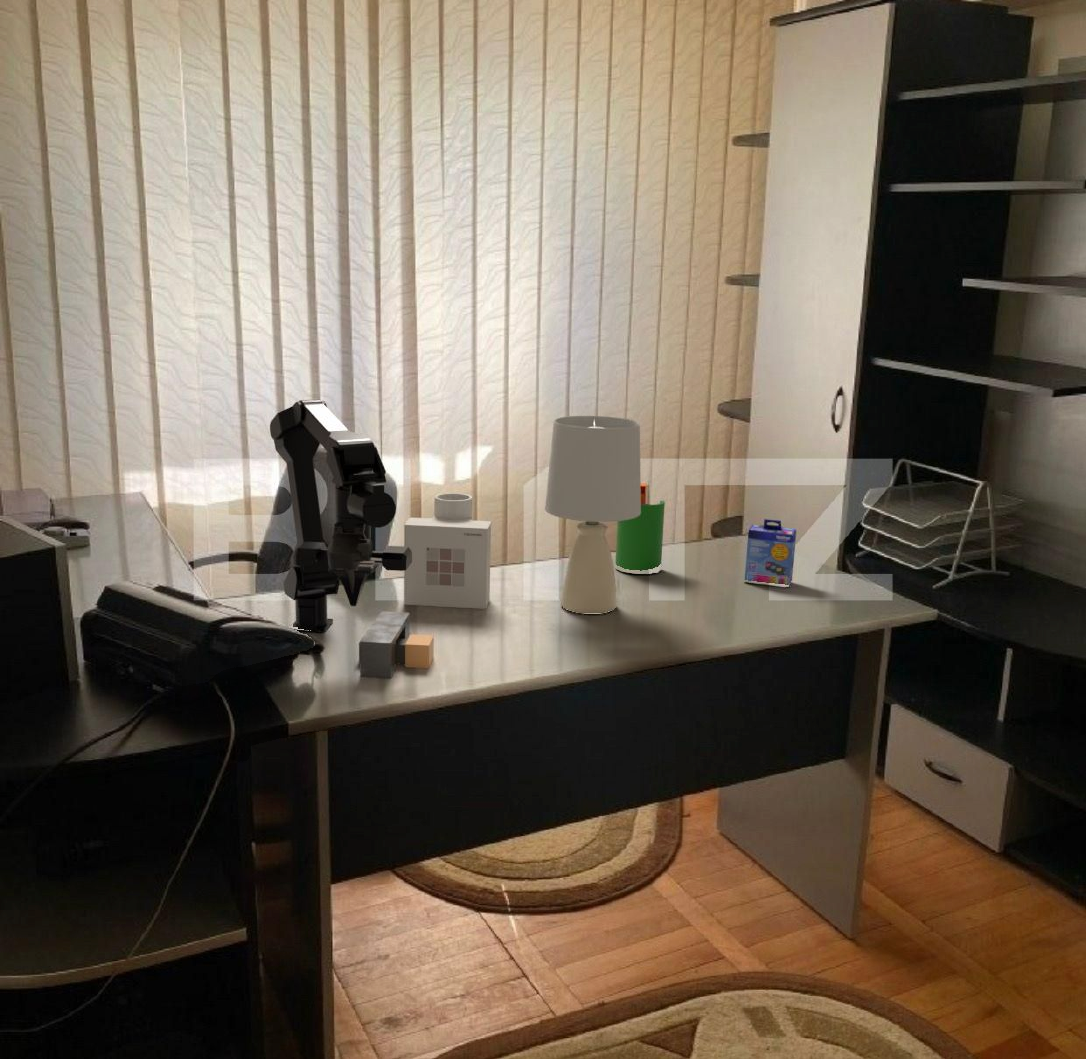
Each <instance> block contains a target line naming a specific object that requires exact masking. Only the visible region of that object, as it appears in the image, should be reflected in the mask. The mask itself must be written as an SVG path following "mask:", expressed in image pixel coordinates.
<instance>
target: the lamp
mask: <svg viewBox="0 0 1086 1059" xmlns="http://www.w3.org/2000/svg"><path fill="white" fill-rule="evenodd" d="M552 425H553V426H552V435H551V444H550V455H549V464H548V473H547V474H548V476H547V485H546V495H545V506H544V510H545V512H547V513H548V514H549V515H551V516H554V517H557V518H562V519H566V520H570V521H571V520H572V521H579V523H578V524H577V525H576V529H577V530H578V532H579V533H578V536H577V538H576V540H575V541H574V544H573V545H572V548H571V552H570V555H569V557H568V561H567V565H566V569H565V575H564V579H563V585H562V588H561V590H562V591H561V597H560V606H561V607H562V606H563V607H564V608H565V609H568V610H570V611H574V612H578V613H605V612H608V611H611V610H613V609H615V608H616V609H617V607H618V606H617V604H618V598H617V585H616V577H615V567H614V561H613V556H612V552H611V548H610V545H609V543H608V541H607V539H606V536H605V533H606V532H607V530H608V525H607V524H605V523H612V522H618V521H623V520H629V519H633V518H636V517H638V516H639V515H640V514H641V484H642V483H641V430H640V429H641V424H640V423H639V421H637V420H633V419H629V418H624V417H623V418H622V417H615V416H604V415H603V416H601V415H569V416H562V417H557V418H554V420H553V424H552ZM564 608H563V609H564ZM565 609H564V610H565ZM616 609H615V610H616Z"/></svg>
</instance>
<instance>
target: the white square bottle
mask: <svg viewBox="0 0 1086 1059" xmlns="http://www.w3.org/2000/svg"><path fill="white" fill-rule="evenodd" d="M433 506H434V507H433V508H434V512H433V516H432V517H429V518H427V517H409V518H408V519H407V520H406V522H405V524H404V526H403V527H404V531H403V532H404V533H403V534H404V537H403V538H404V539H403V540H404V541H403V543H404V544H403V545H404V547H409V548H410V549H411V551H412V563H411V564H410V566H409V567H408V568H407V570H404V571H403V574H404V575H403V579H404V580H403V584H404V586H403V587H404V588H403V592H404V593H403V605H405V606H420V607H421V606H424V607H437V608H438V607H440V608H441V607H443V608H461V609H462V608H463V609H479V610H480V609H481V610H486V609H487V607H488V606H489V603H490V599H491V597H490V593H491V592H490V590H491V588H490V587H491V555H492V554H491V550H492V549H491V546H492V545H491V542H492V541H491V540H492V521H491V520H489V521H487V520H473V497H472V496H471V495H470V494H467V493H460V492H459V493H458V492H457V493H456V492H447V493H446V492H445V493H438V494H436V495H434V505H433Z"/></svg>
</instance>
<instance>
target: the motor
mask: <svg viewBox="0 0 1086 1059" xmlns="http://www.w3.org/2000/svg"><path fill="white" fill-rule="evenodd" d="M646 501H647V483H641V514H640V515H639V516H638V517H636V518H633V519H629V520H623V521H616V522H617V524H616V526H617V528H616V542H615V544H616V545H615V546H616V548H615V564H616V565H617V566H620V567H622V568H624V569H629V570H640V571H642V570H648V569H653V568H655V567H658V566H659V565H660V564H661V565H662V556H663V554H662V553H663V543H664V542H663V540H664V539H663V538H664V521H665V506H666V505H665V504H666V501H665V500H660V502H659V503H656V504H650V503H647V502H646Z"/></svg>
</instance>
